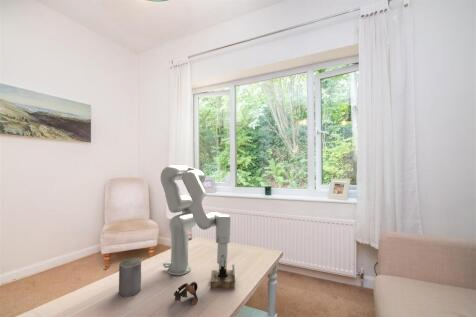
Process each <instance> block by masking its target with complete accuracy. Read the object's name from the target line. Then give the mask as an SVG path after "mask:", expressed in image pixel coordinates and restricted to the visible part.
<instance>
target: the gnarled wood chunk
mask: <svg viewBox="0 0 476 317" xmlns="http://www.w3.org/2000/svg"><path fill="white" fill-rule="evenodd" d="M197 291H198V283H197V282H196V281H192V282H191V283H190V284H189V283H188V282H186V283H183V284H182V285H180V286H179V287H178V288H177V289H176V290H175V291H174V293H173V295H174V301H176V302H177V301H179V302H181V298H188V294H190V295H192V296H193V298H192V300H191V303H192V306H195V305H196V304H197V302H198V301H199V298H198V294H197Z"/></svg>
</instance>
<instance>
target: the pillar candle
mask: <svg viewBox="0 0 476 317" xmlns="http://www.w3.org/2000/svg"><path fill="white" fill-rule="evenodd" d="M118 267H119V268H118V295H119V296H120V297H122V298H123V297H124V298H125V297H127V298H128V297H131V296H135V295H137V294H138V293H139V292H141V289H142V259H140V258H127V259H124V260H122V261H120V263H119V265H118Z"/></svg>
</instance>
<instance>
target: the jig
mask: <svg viewBox="0 0 476 317" xmlns="http://www.w3.org/2000/svg"><path fill="white" fill-rule="evenodd" d="M235 270H236V269H235V264H232V266H231V269H229V270H228V269H227V277H226V278H219V269H218V270H217V269H216V270H211V275H210V280H209V289H210V290H221V289H223V290H225V289H226V290H227V289H230V290H231V289H232V290H233V289H235V288H236V287H235V284H236V282H235V281H236V280H235V278H236V274H235V272H236V271H235Z"/></svg>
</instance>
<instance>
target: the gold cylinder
mask: <svg viewBox="0 0 476 317" xmlns="http://www.w3.org/2000/svg"><path fill="white" fill-rule="evenodd" d="M224 263H225V261H224ZM227 264H228V262H227V263H226V264H225V269H226V277H227V270H228V269H227V266H228V265H227ZM219 269H220V263H218V270H219ZM226 277H219V278H226Z"/></svg>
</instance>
